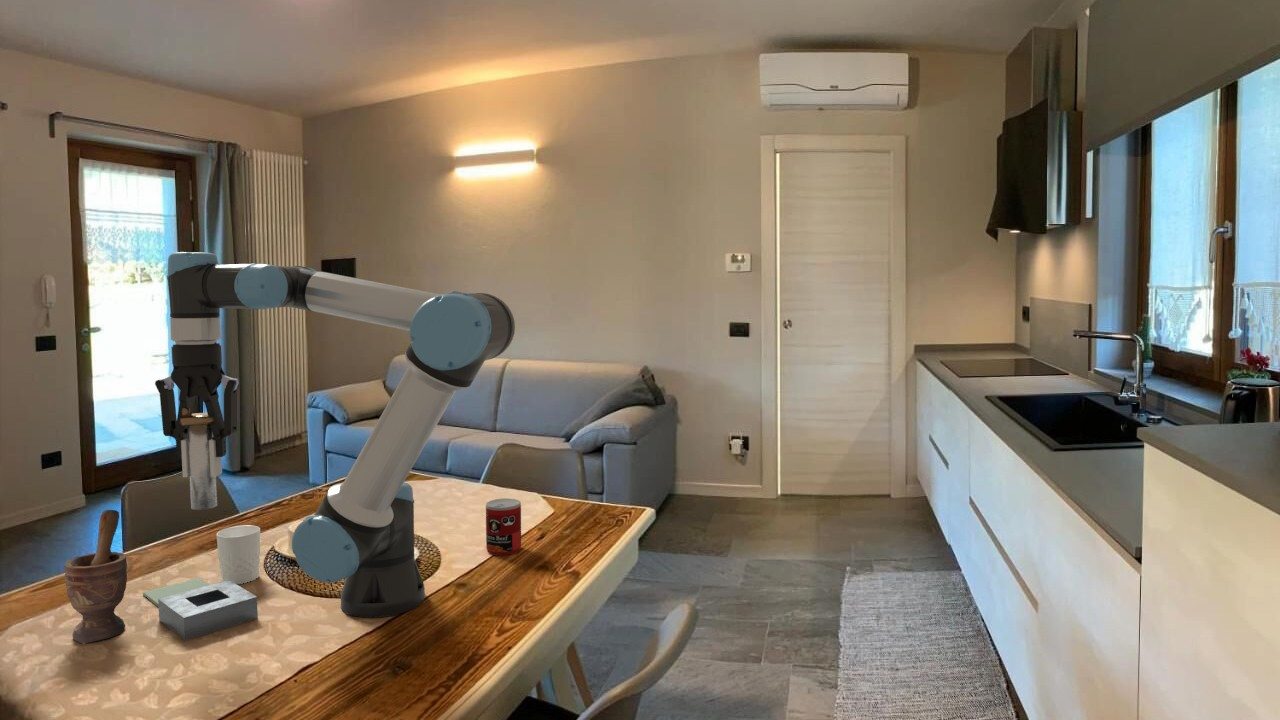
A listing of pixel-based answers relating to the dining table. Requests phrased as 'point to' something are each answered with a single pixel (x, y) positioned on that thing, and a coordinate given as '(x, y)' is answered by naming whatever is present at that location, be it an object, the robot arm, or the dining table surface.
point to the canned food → (503, 526)
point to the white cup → (239, 553)
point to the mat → (174, 589)
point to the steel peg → (199, 459)
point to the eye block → (207, 609)
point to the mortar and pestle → (98, 585)
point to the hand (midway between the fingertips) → (202, 475)
